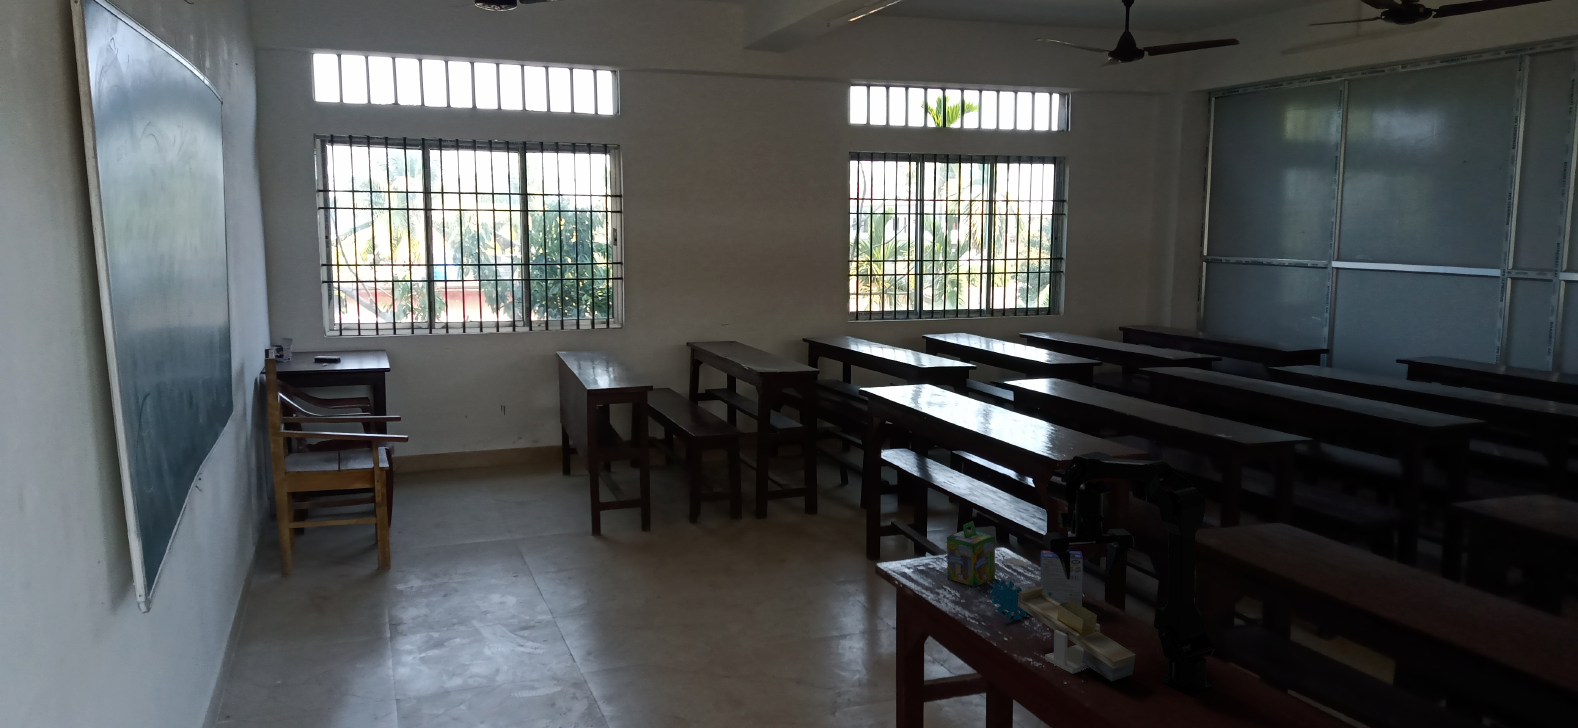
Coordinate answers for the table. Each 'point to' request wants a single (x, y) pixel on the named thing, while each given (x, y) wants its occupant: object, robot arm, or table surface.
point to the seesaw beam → (1097, 646)
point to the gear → (1007, 599)
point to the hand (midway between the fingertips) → (1088, 577)
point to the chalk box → (970, 556)
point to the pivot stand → (1067, 654)
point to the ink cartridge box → (1062, 577)
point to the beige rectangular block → (1077, 618)
